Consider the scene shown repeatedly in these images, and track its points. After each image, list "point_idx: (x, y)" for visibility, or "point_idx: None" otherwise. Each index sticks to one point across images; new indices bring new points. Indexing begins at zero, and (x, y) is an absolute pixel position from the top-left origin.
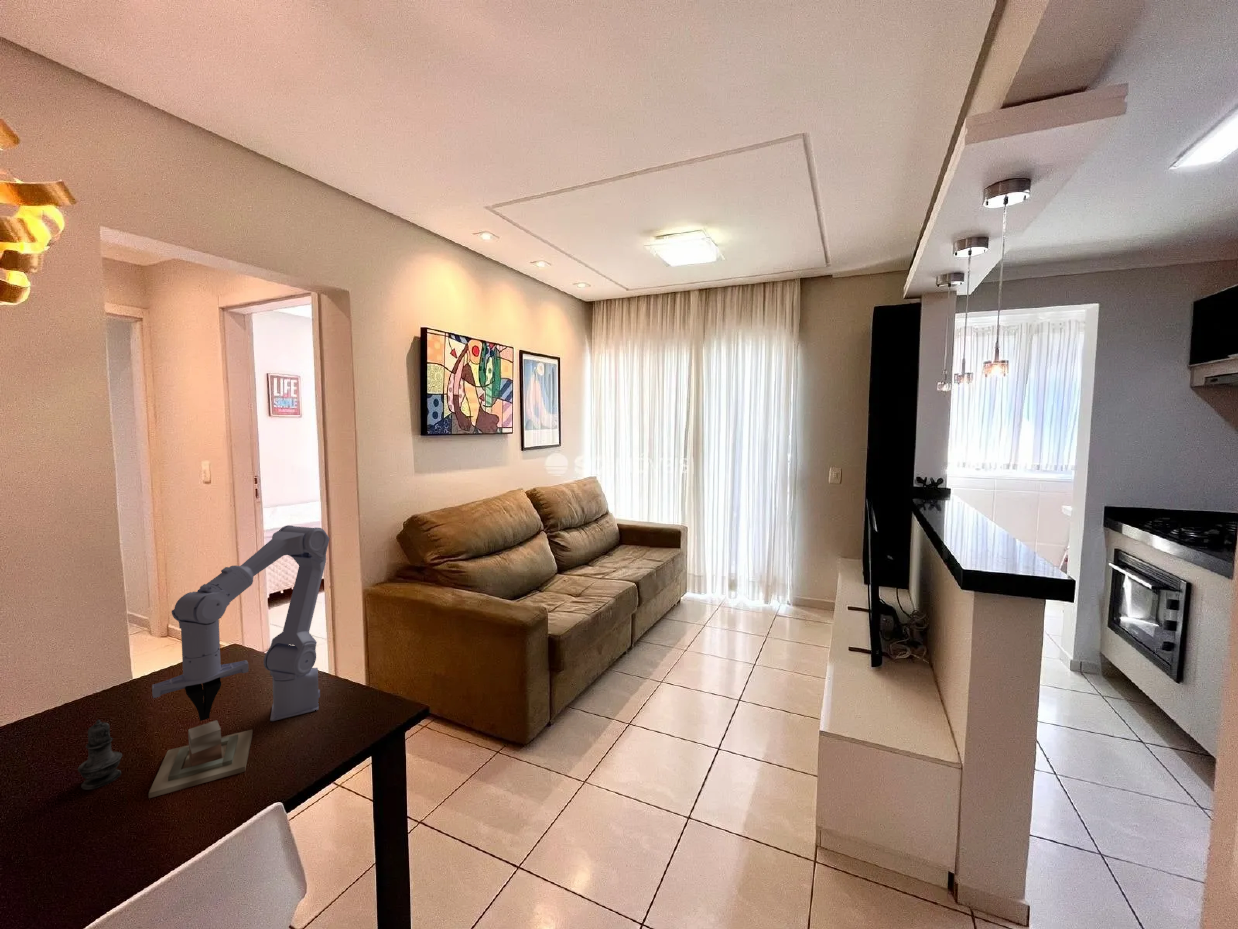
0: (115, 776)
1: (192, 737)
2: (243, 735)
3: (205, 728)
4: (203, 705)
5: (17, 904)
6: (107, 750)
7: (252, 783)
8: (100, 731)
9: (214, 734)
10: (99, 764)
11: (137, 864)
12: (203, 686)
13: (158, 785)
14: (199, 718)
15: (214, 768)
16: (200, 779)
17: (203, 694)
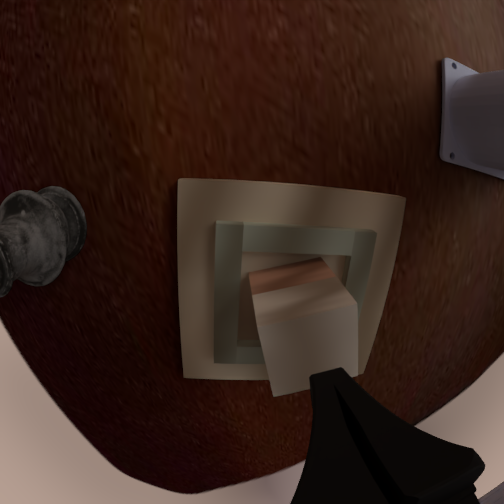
0: (78, 238)
1: (276, 387)
2: (384, 222)
3: (316, 349)
4: (343, 404)
5: (113, 463)
6: (22, 268)
7: None
8: None
9: None
10: (31, 274)
11: (217, 474)
12: (386, 499)
13: (196, 362)
14: (310, 390)
15: None
16: None
17: (367, 441)
